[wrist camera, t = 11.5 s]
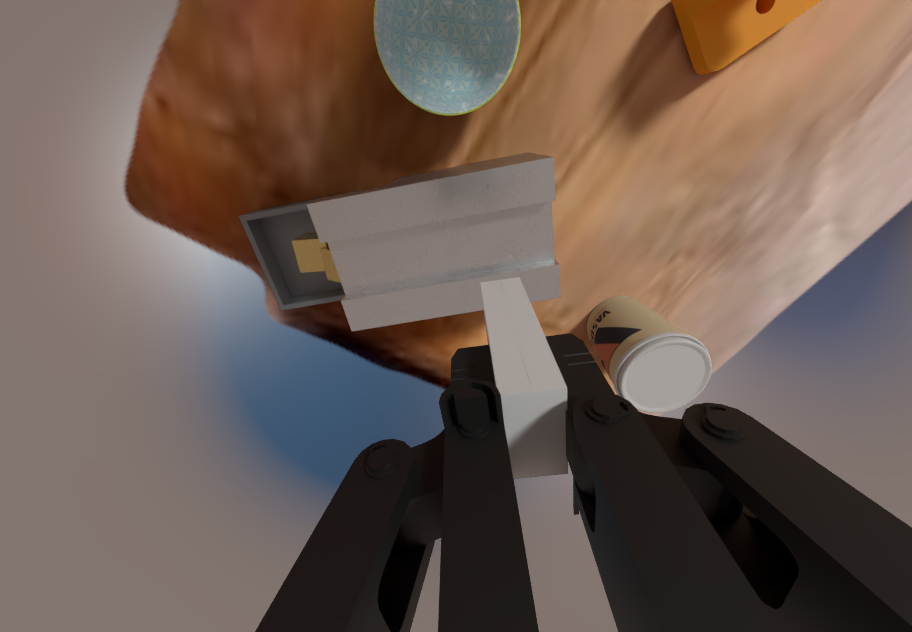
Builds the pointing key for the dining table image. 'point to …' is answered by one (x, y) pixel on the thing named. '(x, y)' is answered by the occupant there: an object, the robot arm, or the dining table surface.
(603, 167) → the dining table surface
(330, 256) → the tan cube
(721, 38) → the bracket
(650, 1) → the dining table surface
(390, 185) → the rail block
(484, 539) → the robot arm
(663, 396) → the coffee cup
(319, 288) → the tray
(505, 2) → the bowl
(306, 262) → the chip
